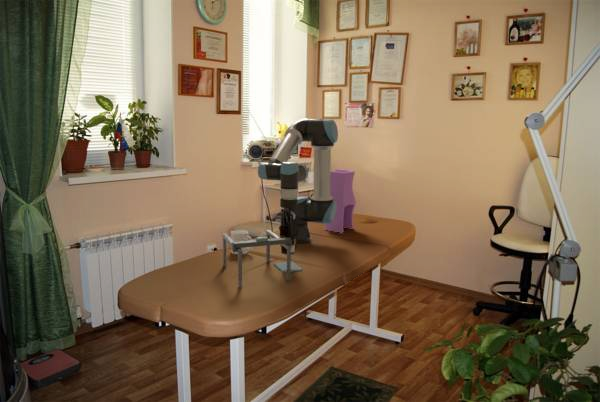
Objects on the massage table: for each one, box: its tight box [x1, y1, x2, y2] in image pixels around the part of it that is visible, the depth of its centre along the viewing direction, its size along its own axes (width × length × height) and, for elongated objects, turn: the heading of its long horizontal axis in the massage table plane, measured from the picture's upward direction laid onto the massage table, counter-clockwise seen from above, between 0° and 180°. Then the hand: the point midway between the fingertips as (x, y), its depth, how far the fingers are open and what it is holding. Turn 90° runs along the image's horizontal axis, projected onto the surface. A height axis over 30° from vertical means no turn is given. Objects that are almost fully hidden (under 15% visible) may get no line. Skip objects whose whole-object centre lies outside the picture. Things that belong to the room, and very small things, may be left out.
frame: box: [222, 229, 292, 288], centre depth 202 cm, size 28×22×15 cm
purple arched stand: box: [323, 168, 356, 234], centre depth 282 cm, size 14×14×35 cm
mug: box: [230, 229, 254, 255], centre depth 233 cm, size 12×8×10 cm
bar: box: [230, 236, 292, 252], centre depth 192 cm, size 3×24×5 cm, turn 112°
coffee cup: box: [278, 223, 299, 256], centre depth 210 cm, size 9×8×13 cm
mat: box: [273, 261, 303, 273], centre depth 213 cm, size 12×9×1 cm
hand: (288, 249), depth 211 cm, fingers closed on coffee cup, 7 cm apart
